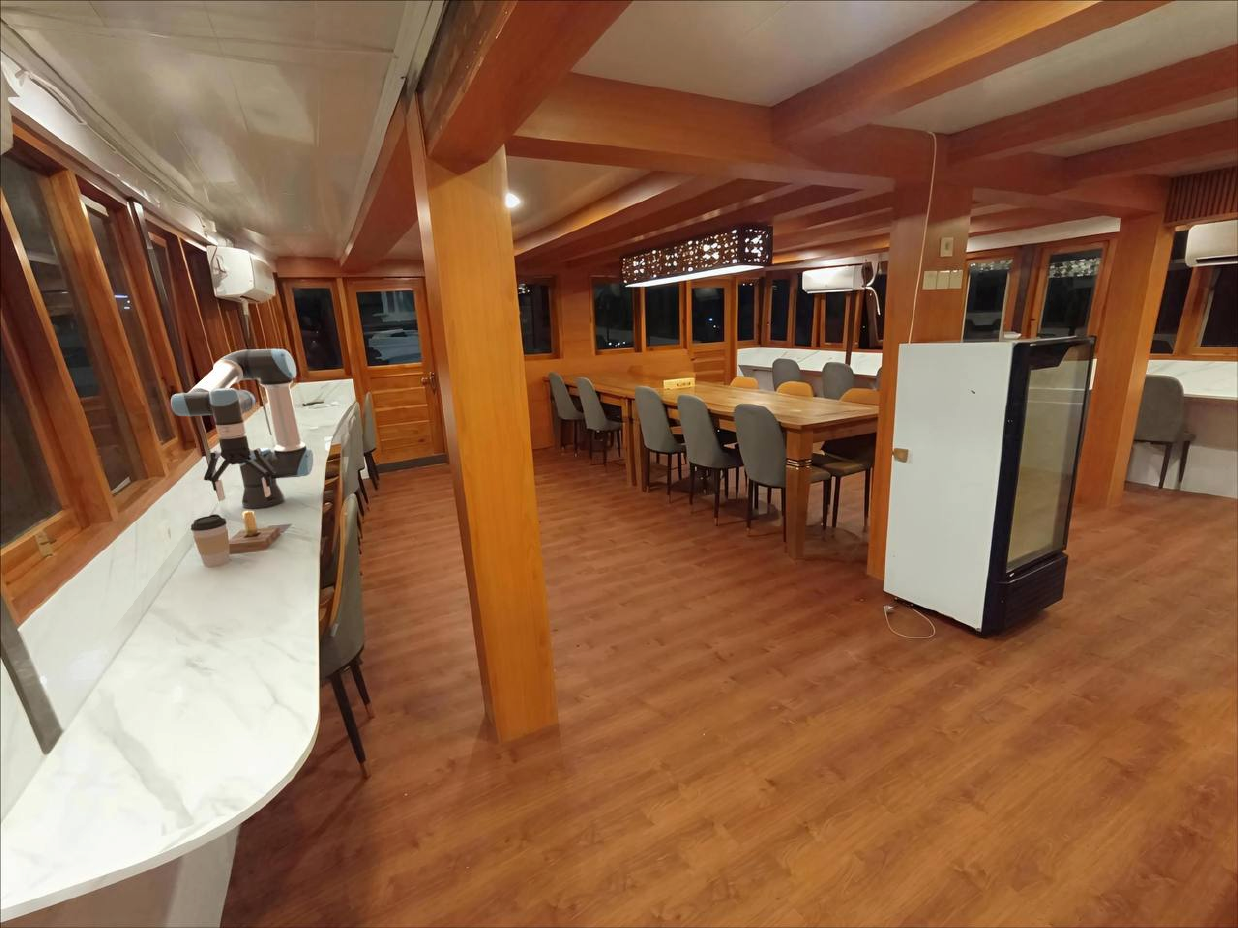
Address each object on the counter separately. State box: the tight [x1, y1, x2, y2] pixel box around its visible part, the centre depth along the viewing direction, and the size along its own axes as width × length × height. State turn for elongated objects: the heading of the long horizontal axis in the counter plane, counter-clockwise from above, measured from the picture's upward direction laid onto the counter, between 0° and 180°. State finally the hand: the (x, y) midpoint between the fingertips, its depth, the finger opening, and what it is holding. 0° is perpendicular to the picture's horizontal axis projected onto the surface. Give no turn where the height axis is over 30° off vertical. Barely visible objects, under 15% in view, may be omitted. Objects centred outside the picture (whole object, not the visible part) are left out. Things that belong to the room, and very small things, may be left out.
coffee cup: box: [190, 513, 231, 568], centre depth 167 cm, size 9×9×15 cm
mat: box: [267, 523, 292, 534], centre depth 195 cm, size 10×8×1 cm
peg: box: [241, 509, 258, 538], centre depth 181 cm, size 3×3×12 cm
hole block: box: [229, 526, 282, 554], centre depth 182 cm, size 14×12×4 cm
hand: (245, 497), depth 178 cm, fingers open, 13 cm apart
